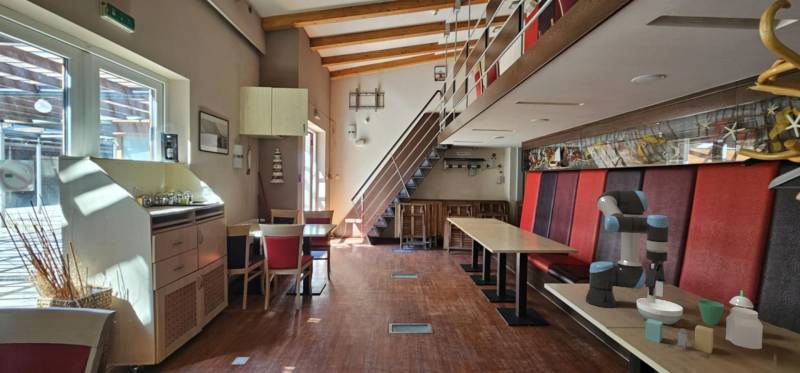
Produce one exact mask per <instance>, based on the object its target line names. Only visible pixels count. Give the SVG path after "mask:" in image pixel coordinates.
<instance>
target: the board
mask: <svg viewBox="0 0 800 373" xmlns="http://www.w3.org/2000/svg"><path fill="white" fill-rule="evenodd" d="M694 345H695V343H692V342H689V341H687V348H686V349H683V348H679V347H678V338H676V337H675V338H673V340H671V343H670V344H669V345H668V348H671V349H674V350H678V351H682V352H685V353H688V354H692V355H695V356H697V357H698V356H699V357H702V358H706V359H710V358H711V355H712V353H713V350H714V349H713V350H712V352H711V353H707V352H704V351H700V350H696V349H694Z"/></svg>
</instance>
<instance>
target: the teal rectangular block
mask: <svg viewBox="0 0 800 373" xmlns="http://www.w3.org/2000/svg"><path fill="white" fill-rule="evenodd" d="M663 325H664V324H663V322H660V321H656V320H652V319H648V320H646V321H645V325H644V326H645V328H644V329H645V332H644V333H645V334H644V340H647V341H652V342H655V343H658V344H660V343H661V341H663V328H664V326H663Z"/></svg>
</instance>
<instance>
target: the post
mask: <svg viewBox="0 0 800 373" xmlns="http://www.w3.org/2000/svg"><path fill="white" fill-rule="evenodd" d="M677 339H678V347H679V348H683V349H686V348H687V342H688V332H687V330H686V329H685V328H680V330H679V331H678V333H677Z"/></svg>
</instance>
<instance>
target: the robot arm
mask: <svg viewBox="0 0 800 373" xmlns="http://www.w3.org/2000/svg"><path fill="white" fill-rule="evenodd" d="M648 204H649V203H648V198H647V195H646V194H645V193H644V192H643V191H641V190H624V189H623V190H619V189H617V190H616V189H611V190H607V191H605V192H603V193H600V195H599V196H598V198H597V200H596V206H597V208H598V210H599V211H601V212H602V213H603V215H604V222H603V223H604V224H603V225H604V230H605V231H606V232H611V233H621V234H620V235H621V236H620V237H621V238H620V260H619V261H617V265H615V264H614V263H613V262H611V261H605V260H604V261H603V260H602V261H594V262H591V263H590V267H589V287H588V291H587V293H586V295H585V302H586V303H587V304H590V305H592V306H596V307H601V308H614V307H616V306H617V300H616V298H615V295H614V290H613V289H614V288H613V287H619V288H628V289H633V290H634V289H639V290H640V289H642V288H643V287H644V286H645V287H646V288H647V295H646V296H647V297H646V298H647V302H650V303H654V304H655V299H657V298H656V297H662V298H663V297H664V283H666V279H665V271H664V269H665V268H664V267H665V266H664V262H666V261H668V249H669V248H668V247H670V244H668V243H669V225H670V222H669V217H668V216H666V215H660V214H649V215H648V216H644V213H646V212H647V211H648V208H649V206H648ZM643 216H644V217H643ZM640 234H641V235H642V234H644V235H646V248H645V249H646V250H645V251H646V255H645V258H646V259H647V260H649V261H651V263H649V265H648V273H647V271H646V268H644V267H643V264H642V263H641V262H640ZM646 273H647V274H646ZM646 278H647V280H646ZM645 283H646V284H645Z"/></svg>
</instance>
